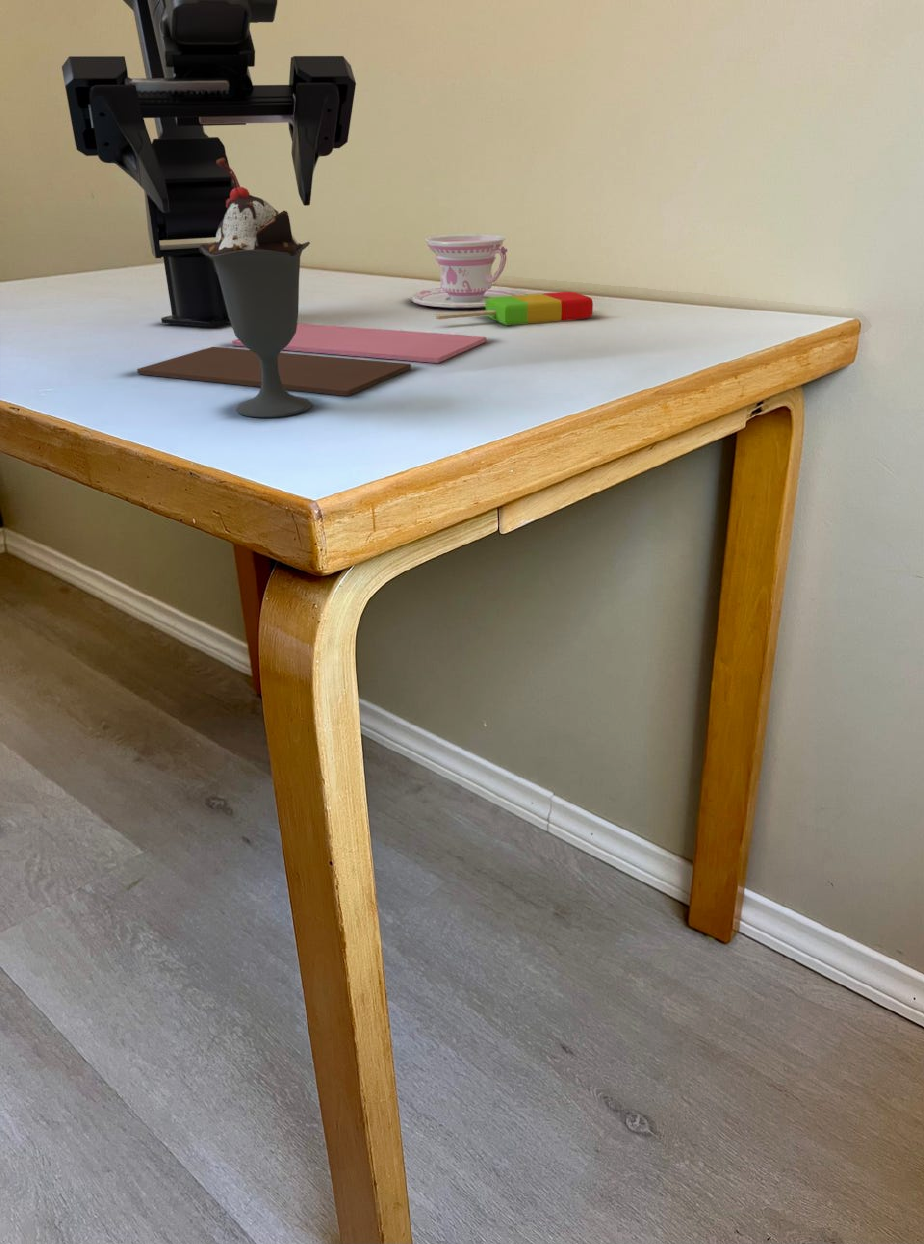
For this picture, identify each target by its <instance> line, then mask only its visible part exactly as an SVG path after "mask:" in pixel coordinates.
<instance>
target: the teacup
mask: <svg viewBox="0 0 924 1244" xmlns="http://www.w3.org/2000/svg"><path fill="white" fill-rule="evenodd" d="M505 240H506V237H505V236H503V235H497V234H495V235H494V234H479V233H477V234H476V233H474V234H470V233H469V234H465V233H464V234H463V233H462V234H443V235H433V236H429V237H426V238H425V242H426V243H427V246H428V248H429V250H431V252H433V253H434V254H435V261H436V263H437V264H438V267H439V270H440V271H439V272H440V285H439V286H440V287H437V288H430V289H423V290H420V291H418V292H414V293H413V294H412V295H411V296H410V300H411V301H412V302H413V303H415V304H417V305H421V306H428V307H433V308H434V307H435V308H441V309H484V308H485V309H486V306H485V304H486V300H487V299H488V298H492V297H505V296H517V295H526V293H525V292H524V291H522V290H519V289H516V288H511V287H503V286H493V283H495V282H496V281H497V280H498V279H499V277H500V275H501V274H502V273H503V271H504V269H505V267H506V262H507V254H506V253H507V252H508V248H506V247H504V245H503V244H504V241H505ZM497 254H499V256H500V261H499V264H498V268H497V269H496V271H495V272H494V274H493V275H492V266H493V264H494V262H495V260H496V259H497V256H496V255H497Z"/></svg>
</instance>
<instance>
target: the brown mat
mask: <svg viewBox="0 0 924 1244" xmlns="http://www.w3.org/2000/svg"><path fill="white" fill-rule="evenodd" d="M136 369H137V374H138V375H142V376H144V375H145V376H154V377H162V378H169V379H170V378H171V379H182V380H189V381H190V380H191V381H199V382H210V383H218V384H228V385H229V384H230V385H239V386H247V387H256V388H261V383H262V371H261V364H260V359H259V357H258V356H257V355H256V354H255V353H254V352H253V351H251V350H250V349H247V348H246V349H245V348H244V349H243V348H235V347H234V348H233V347H221V346H210V347H207V348H204V349H201V350H198V351H197V350H196V351H193V352H190V353H187V354H183V355H180V356H176V357H173V358H170V359H166V360H163V361H160V362H156V363H153V364H149V365H146V366H143V367H140V368H136ZM278 369H279V375H280V380H281V382H282V385H283V387H284V389H285V390H286V391H295V392H304V393H313V394H324V395H330V396H331V395H333V396H340V397H341V396H342V397H349V396H352V395H354V394H357V393H359V392H361V391H364V390H366V389H368V388H370V387H373V386H375V385H377V384H379V383H382V382H384V381H386V380H389V379H391V378H393V377H395V376H398V375H400V374H402V373H405V372H408V371H410V370H411V369H412V364H411V363H404V362H395V361H393V362H392V361H383V360H371V359H360V358H349V357H336V356H326V355H325V356H324V355H314V354H313V355H312V354H303V353H302V354H301V353H292V352H291V353H289V352H280V353H279V355H278Z"/></svg>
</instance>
